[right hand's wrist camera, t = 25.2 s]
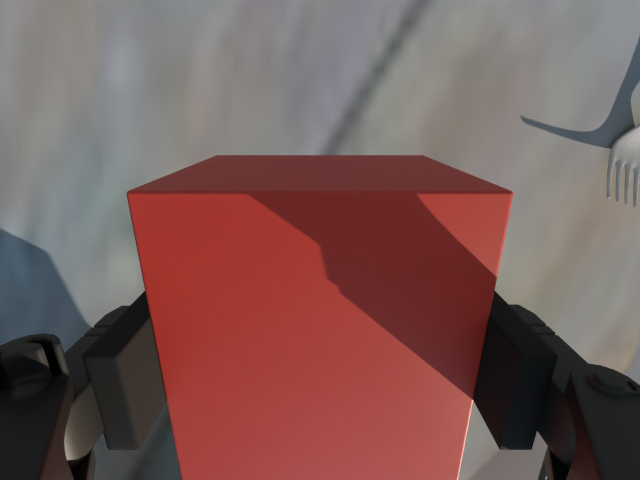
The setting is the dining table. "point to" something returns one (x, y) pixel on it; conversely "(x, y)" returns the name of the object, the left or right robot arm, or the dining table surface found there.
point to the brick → (319, 312)
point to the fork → (625, 162)
